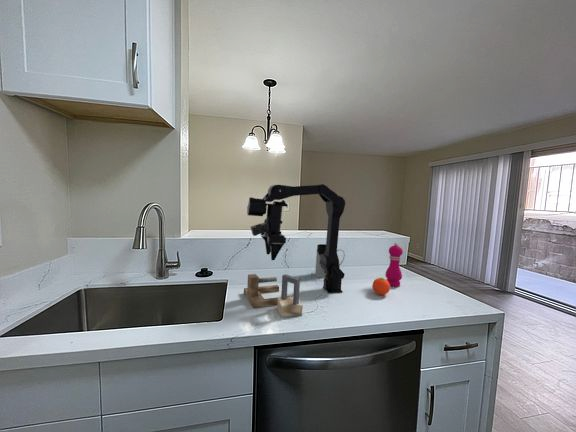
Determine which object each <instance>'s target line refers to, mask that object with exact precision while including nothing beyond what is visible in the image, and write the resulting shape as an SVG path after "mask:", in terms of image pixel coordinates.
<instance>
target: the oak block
mask: <svg viewBox="0 0 576 432" xmlns="http://www.w3.org/2000/svg"><path fill="white" fill-rule="evenodd" d="M279 297H280V298H278V300H277V305H276V308H277V311H278V313H279V315H280V317H281V318H283V317H300V316H303V307H304V306H303V304H302V302H301V301H300V299H299V304H297V305H295V304H293V296H290V297H287V299H285V300H282V299H281V296H279Z"/></svg>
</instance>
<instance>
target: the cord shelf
mask: <svg viewBox="0 0 576 432" xmlns="http://www.w3.org/2000/svg"><path fill="white" fill-rule="evenodd" d="M277 280H278V279H277V277H276V276H275V277H274V276H273V277H262V278H261V277H259V275H257V274H256V273H253V274H252V273H251V274H247V287H244V288H243V294H244V296H245V297H246V299H247V301H248V302H249V304H250V305H251V306H252V309H258V308H266V307H272V306H277V300H278V298H280V297H281V296H278V297H277V296H276V297H269V298H264V296H263V294H266V293H267V294H268V293H277V292H280V286H279V285H278V284H275V285H274V284H273V285H263V286H259V284H262V283H272V282H273V283H274V282H277ZM287 297H291V296H290V295H287Z"/></svg>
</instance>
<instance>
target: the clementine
mask: <svg viewBox="0 0 576 432" xmlns="http://www.w3.org/2000/svg"><path fill="white" fill-rule="evenodd" d="M386 279H387V278H384V277H377V278H375V279H374V280H373V281H372V286H371V287H372V290H373V292H374V293H376V295H380V296H384V295H385V296H386V295H387V294H388V293H389V292H390V290H391V286H390V284H389V282H388V281H387V280H386Z"/></svg>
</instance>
